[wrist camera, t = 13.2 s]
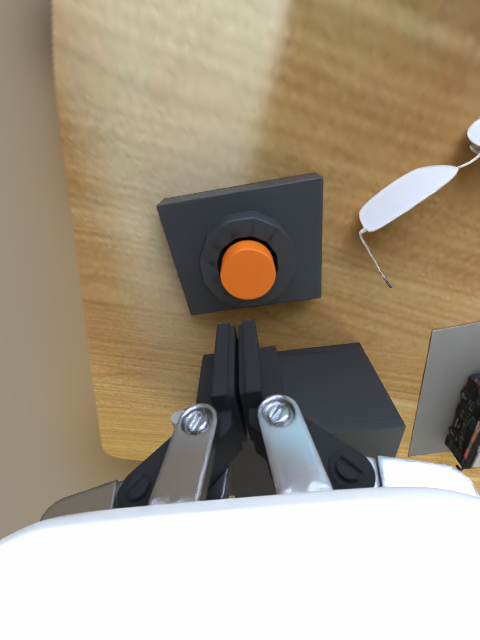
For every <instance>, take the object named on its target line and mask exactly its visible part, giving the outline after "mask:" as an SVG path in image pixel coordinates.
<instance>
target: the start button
mask: <svg viewBox="0 0 480 640" xmlns="http://www.w3.org/2000/svg"><path fill="white" fill-rule="evenodd" d="M220 277H221V282H222V284H223V286H224V288H225V289H226V290H227V291H228V292H229V293H230V294H231V295H233V296H235V297H237V298H240V299H255V298H258V297H261V296H262V295H264V294H265V293H267V292H268V291H269V290H270V289H271V287H272V286H273V284H274V281H275V277H276V270H275V265H274V261H273V258H272V255H271V253H270V251H269V250H268V249H267V247H265V246H264V245H263V244H261V243H259V242H257V241H253V240H243V241H239V242H236V243H235V244H233V245H231V246H230V247H229V248H228V249H227V250H226V252H225V254H224V256H223V259H222V265H221V272H220Z"/></svg>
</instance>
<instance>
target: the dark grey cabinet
mask: <svg viewBox="0 0 480 640" xmlns="http://www.w3.org/2000/svg"><path fill="white" fill-rule="evenodd" d="M277 356H278V361H279V367H280V372H281V377H282V383H283V388H284V394H285V395H286V396H288V397H290V398H292V399H293V400H294V401H295V402H296V403H297V405H298V406H299V409H300V411H301V413H302V416H303V417H305V418H307V419H308V420H310V421H311V422H313V423H315V424H316V425H318V426H319V427H321V428H323V429H324V430H326V431H327V432H329V433H330V434H332V435H334V436H335V437H337V438H338V439H340V440H342V441H343V442H345V443H346V444H348V445H350V446H351V447H353V448H354V449H356V450H358V451H359V452H361V453H362V454H363V455H364V456H366V457H371V458H377V455H378V456H385V457H393V458H395V456H396V454H397V451H398V448H399V445H400V442H401V439H402V436H403V433H404V430H405V427H406V426H405V424H404V422H403V420H402V418H401V417H400V415H399V413H398V411H397V409H396V408H395V406H394V404H393V402H392V400H391V399H390V397H389V395H388V393H387V391H386V390H385V388H384V386H383V384H382V382H381V381H380V379H379V377H378V375H377V373H376V372H375V370H374V368H373V366H372V364H371V363H370V361H369V359H368V357H367V355H366V354H365V352H364V350H363V348H362V346H361V344H360V343H350V344H342V345H333V346H324V347H316V348H307V349H298V350H290V351H281V352H277ZM242 447H243V451H239V455H238V456H237V457H236V458H235V459H234V461H233V471H232V478H231V485H230V486H231V488H232V491H233V493H234V496H235V498H243V497H254V496H266V495H275V494H274V490H273V486H272V482H271V478H270V474H269V469H268V465H267V461H266V460H264V459H263V458H262V457H261V456H260V455H258V454H257V453H256V450H255V446H254V442H253V441H251V440H250V436H249V431H248V427H247V442H242Z"/></svg>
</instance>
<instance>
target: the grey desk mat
mask: <svg viewBox="0 0 480 640" xmlns="http://www.w3.org/2000/svg"><path fill="white" fill-rule="evenodd" d="M448 451H451V452H452V453H453V455H454V456H455V458H456V459H457V461H458V462H459V463H460V465H461V467H462V468H460V467H459V466H458V465H456V467H457V469H458V470H459V471H462V470H463V469H470V468H480V322H476V323H471V324H466V325H460V326H455V327H450V328H444V329H439V330H433V333H432V338H431V343H430V348H429V353H428V358H427V363H426V368H425V373H424V378H423V384H422V389H421V394H420V399H419V404H418V409H417V414H416V419H415V424H414V429H413V434H412V440H411V445H410V450H409V455H408V456H416V455H424V454H432V453H440V452H448Z"/></svg>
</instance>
